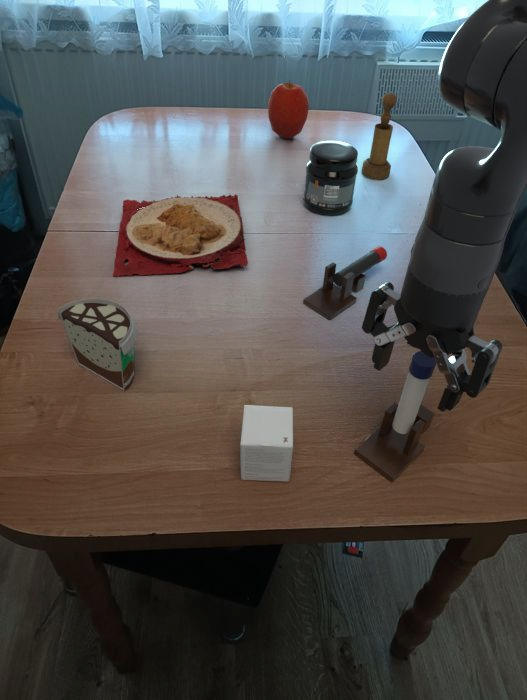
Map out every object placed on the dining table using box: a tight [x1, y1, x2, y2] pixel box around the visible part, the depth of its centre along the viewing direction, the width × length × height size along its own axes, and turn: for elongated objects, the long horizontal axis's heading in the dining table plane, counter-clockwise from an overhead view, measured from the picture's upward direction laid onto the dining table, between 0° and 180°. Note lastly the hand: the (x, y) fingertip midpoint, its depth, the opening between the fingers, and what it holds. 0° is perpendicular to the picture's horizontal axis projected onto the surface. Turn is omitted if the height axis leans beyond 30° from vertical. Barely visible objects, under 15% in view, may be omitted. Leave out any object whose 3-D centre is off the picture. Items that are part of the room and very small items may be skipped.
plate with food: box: [112, 194, 249, 277], centre depth 104 cm, size 24×26×3 cm
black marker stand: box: [302, 262, 366, 321], centre depth 90 cm, size 11×6×6 cm, turn 135°
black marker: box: [333, 245, 388, 288], centre depth 93 cm, size 12×3×3 cm, turn 135°
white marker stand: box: [353, 402, 435, 483], centre depth 69 cm, size 11×6×6 cm, turn 135°
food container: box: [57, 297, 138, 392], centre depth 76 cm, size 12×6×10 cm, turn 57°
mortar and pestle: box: [361, 92, 397, 181], centre depth 121 cm, size 7×6×18 cm
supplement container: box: [302, 140, 359, 216], centre depth 112 cm, size 10×10×12 cm
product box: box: [239, 404, 294, 483], centre depth 65 cm, size 6×6×7 cm
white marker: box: [392, 350, 437, 434], centre depth 63 cm, size 12×3×3 cm
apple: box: [267, 79, 310, 139], centre depth 136 cm, size 10×10×14 cm
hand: (411, 385), depth 61 cm, fingers open, 8 cm apart
